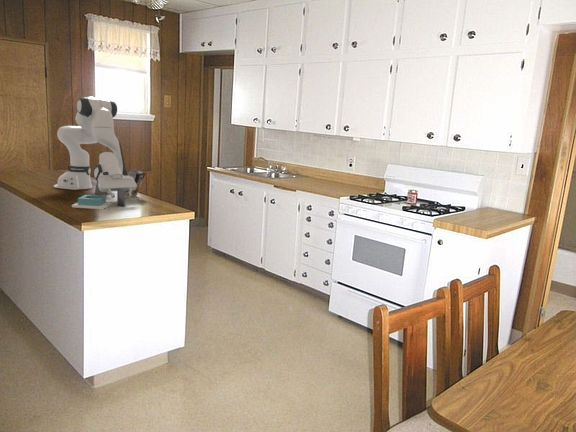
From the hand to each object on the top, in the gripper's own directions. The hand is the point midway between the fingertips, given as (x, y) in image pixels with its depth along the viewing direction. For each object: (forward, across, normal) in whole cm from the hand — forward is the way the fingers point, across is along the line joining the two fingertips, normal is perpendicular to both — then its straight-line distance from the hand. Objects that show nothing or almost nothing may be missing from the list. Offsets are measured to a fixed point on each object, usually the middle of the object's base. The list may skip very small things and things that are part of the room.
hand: (121, 196), depth 250 cm
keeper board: (-1, +13, -9) cm, 16 cm away
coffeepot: (-24, -6, -31) cm, 40 cm away
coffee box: (-15, -15, -21) cm, 30 cm away
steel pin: (+3, 0, -4) cm, 6 cm away
